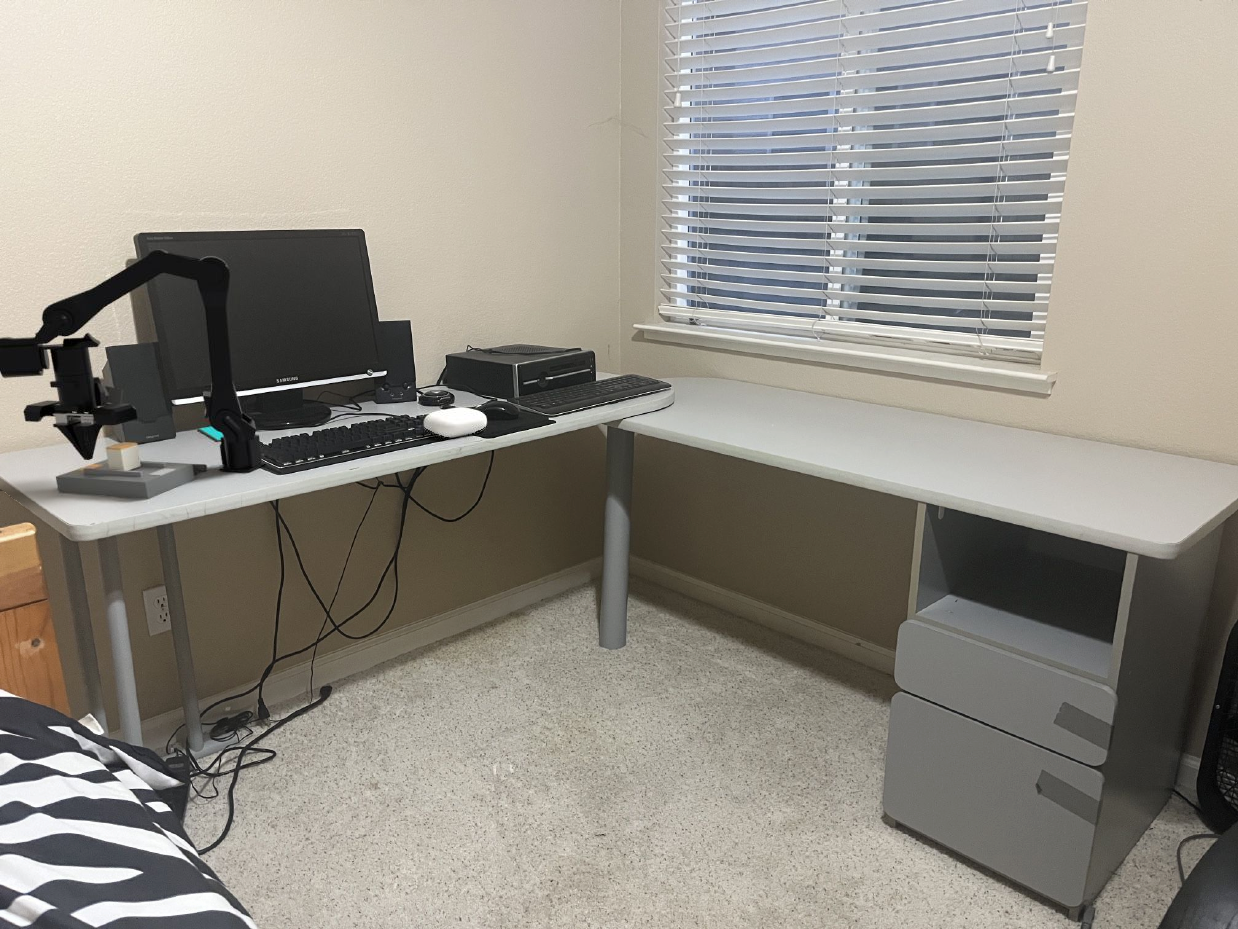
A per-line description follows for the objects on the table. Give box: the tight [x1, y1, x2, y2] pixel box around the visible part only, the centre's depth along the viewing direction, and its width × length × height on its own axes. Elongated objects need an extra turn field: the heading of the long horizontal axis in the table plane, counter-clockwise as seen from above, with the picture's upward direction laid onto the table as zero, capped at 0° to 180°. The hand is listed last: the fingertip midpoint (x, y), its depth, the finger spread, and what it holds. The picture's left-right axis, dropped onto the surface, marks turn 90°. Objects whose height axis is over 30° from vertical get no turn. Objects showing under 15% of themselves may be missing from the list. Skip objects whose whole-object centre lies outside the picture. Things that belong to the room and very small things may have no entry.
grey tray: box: [55, 458, 195, 500], centre depth 156 cm, size 18×12×4 cm, turn 78°
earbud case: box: [423, 407, 488, 439], centre depth 195 cm, size 10×13×5 cm
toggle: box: [105, 441, 141, 470], centre depth 155 cm, size 3×4×4 cm
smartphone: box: [197, 425, 223, 443], centre depth 196 cm, size 7×1×15 cm
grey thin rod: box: [191, 463, 208, 473], centre depth 166 cm, size 14×1×1 cm, turn 82°
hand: (88, 459), depth 157 cm, fingers closed
